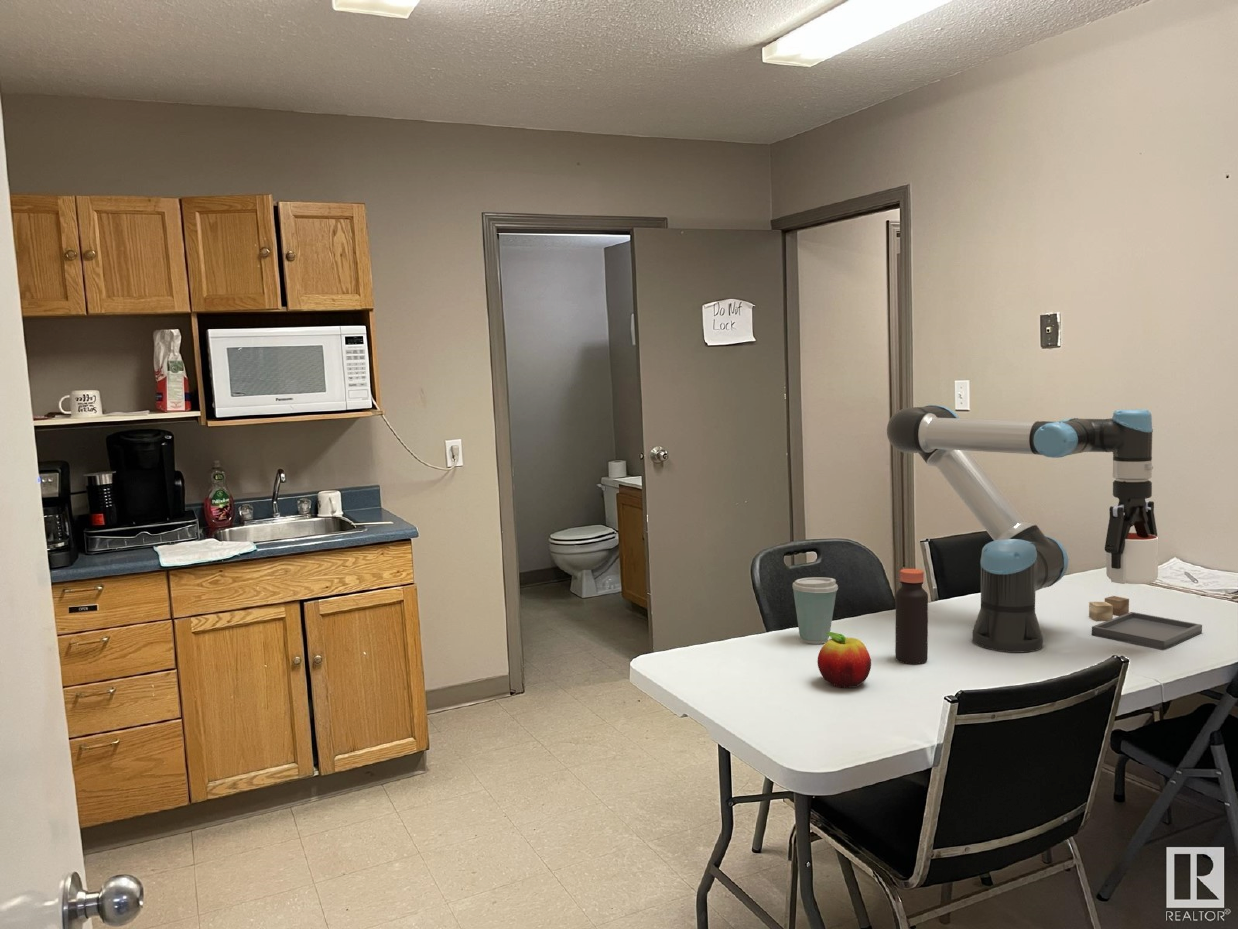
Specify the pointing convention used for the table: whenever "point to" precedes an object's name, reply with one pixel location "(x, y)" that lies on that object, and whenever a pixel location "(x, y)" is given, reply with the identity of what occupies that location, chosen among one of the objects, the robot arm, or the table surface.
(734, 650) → the table surface
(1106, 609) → the maple block
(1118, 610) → the walnut block
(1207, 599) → the table surface
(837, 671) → the fruit
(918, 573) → the bottle
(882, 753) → the table surface
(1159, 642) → the tray
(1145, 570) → the cup
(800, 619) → the disposable coffee cup
